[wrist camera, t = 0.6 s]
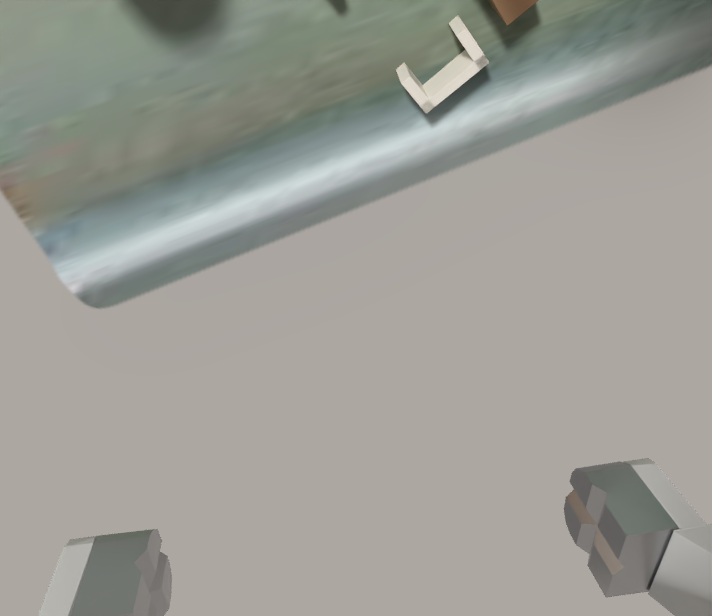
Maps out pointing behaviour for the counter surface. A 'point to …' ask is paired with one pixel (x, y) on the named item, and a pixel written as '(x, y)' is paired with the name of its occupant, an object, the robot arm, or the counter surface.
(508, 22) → the slat
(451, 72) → the cap
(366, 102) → the counter surface
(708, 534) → the robot arm
